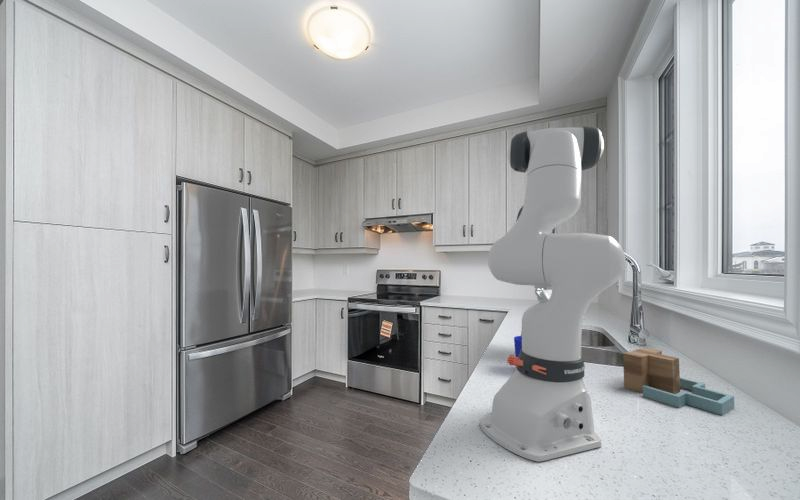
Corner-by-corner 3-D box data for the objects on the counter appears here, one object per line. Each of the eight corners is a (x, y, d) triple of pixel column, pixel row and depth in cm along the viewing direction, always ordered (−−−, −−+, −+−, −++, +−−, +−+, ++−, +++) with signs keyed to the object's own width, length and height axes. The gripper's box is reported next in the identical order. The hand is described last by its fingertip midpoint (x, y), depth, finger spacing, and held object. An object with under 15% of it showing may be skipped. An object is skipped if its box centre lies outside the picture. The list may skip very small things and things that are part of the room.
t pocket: (715, 419, 64) (715, 407, 64) (642, 396, 75) (642, 386, 76) (740, 403, 72) (739, 392, 72) (670, 384, 83) (670, 374, 83)
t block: (666, 400, 73) (665, 362, 73) (624, 387, 81) (623, 353, 81) (686, 390, 79) (685, 355, 79) (645, 379, 87) (644, 347, 87)
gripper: (538, 282, 99) (567, 317, 90) (574, 281, 109) (604, 312, 100) (526, 295, 103) (554, 329, 94) (563, 292, 113) (590, 323, 104)
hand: (580, 320), depth 97 cm, fingers closed
